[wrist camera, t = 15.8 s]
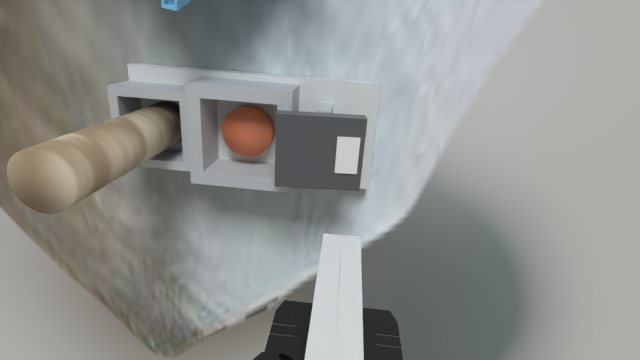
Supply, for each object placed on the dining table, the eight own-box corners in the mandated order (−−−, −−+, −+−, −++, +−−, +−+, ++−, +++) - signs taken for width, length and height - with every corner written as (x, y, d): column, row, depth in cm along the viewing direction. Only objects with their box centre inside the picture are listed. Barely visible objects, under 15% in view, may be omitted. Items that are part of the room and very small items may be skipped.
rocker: (275, 180, 33) (274, 187, 31) (277, 110, 30) (276, 114, 29) (357, 184, 33) (359, 191, 32) (364, 115, 31) (367, 119, 29)
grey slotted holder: (146, 162, 40) (115, 181, 35) (136, 63, 37) (99, 68, 32) (367, 183, 39) (368, 206, 34) (380, 82, 35) (383, 91, 30)
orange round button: (227, 150, 37) (222, 154, 36) (226, 102, 35) (221, 105, 34) (274, 154, 37) (271, 159, 35) (275, 106, 35) (271, 109, 34)
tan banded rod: (150, 141, 38) (14, 211, 23) (146, 99, 36) (-2, 144, 21) (190, 144, 37) (80, 218, 23) (188, 102, 36) (68, 151, 21)
